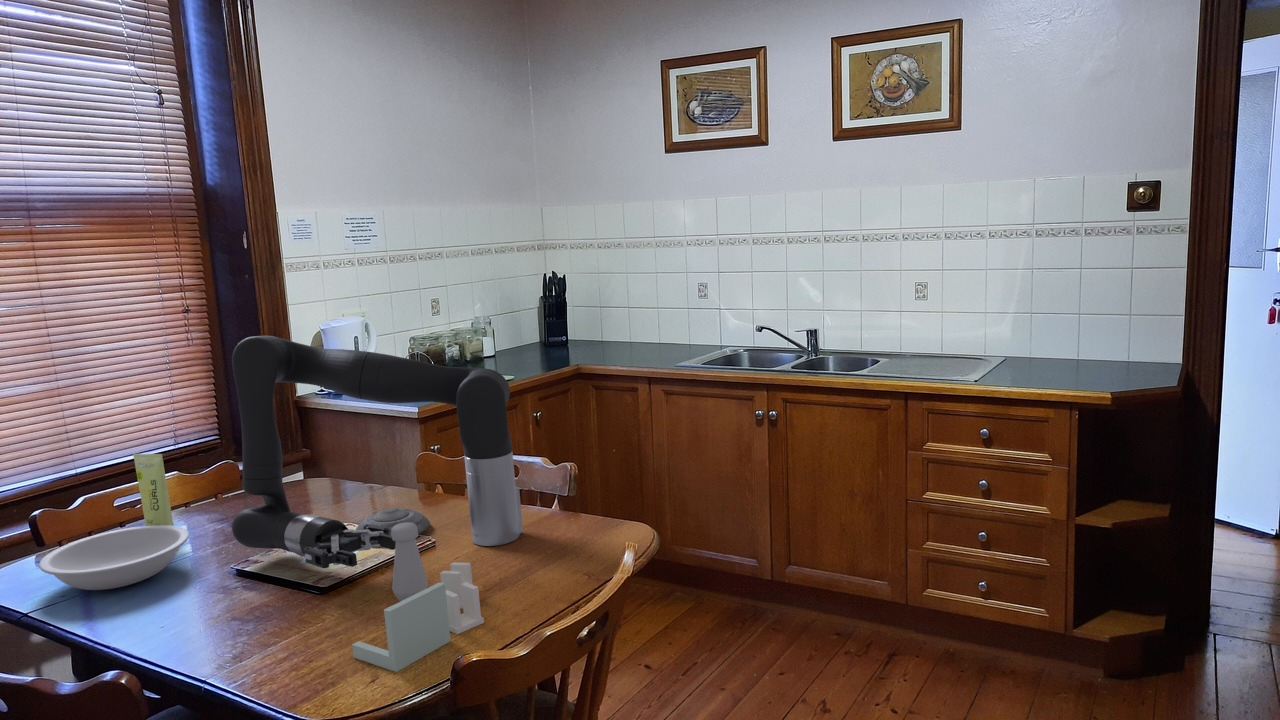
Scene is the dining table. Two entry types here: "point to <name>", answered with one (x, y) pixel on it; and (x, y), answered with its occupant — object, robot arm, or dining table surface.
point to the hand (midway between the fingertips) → (375, 551)
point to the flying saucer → (395, 519)
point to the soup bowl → (115, 557)
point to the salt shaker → (407, 562)
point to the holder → (410, 630)
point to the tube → (153, 489)
